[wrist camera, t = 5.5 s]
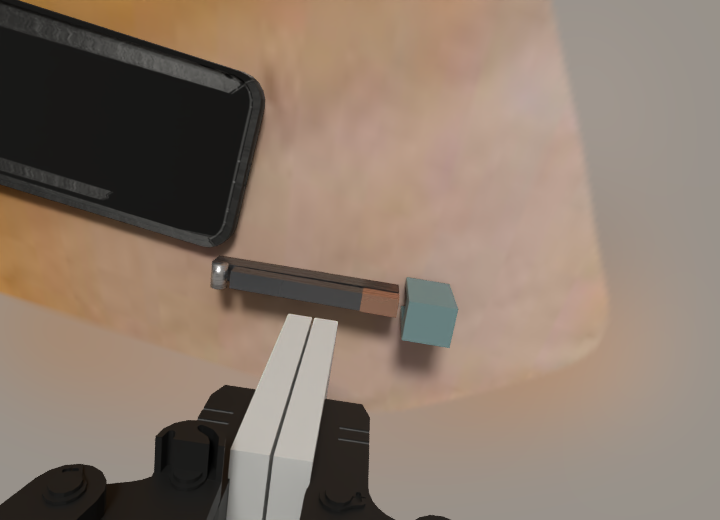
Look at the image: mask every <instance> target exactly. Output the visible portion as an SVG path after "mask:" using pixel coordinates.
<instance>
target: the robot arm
mask: <svg viewBox="0 0 720 520" xmlns="http://www.w3.org/2000/svg"><path fill="white" fill-rule="evenodd" d="M311 322H312V317H307V316H301V315H294V314H288V316H287V318H286V320H285V323H284V325H283V327H282V330H281V332H280V334H279V337H278V339H277V342H276V344H275V346H274V349H273V351H272V353H271V356H270V358H269V360H268V363H267V365H266V367H265V370H264V372H263V374H262V377H261V379H260V381H259V384H258V386H257V388H256V390H255V389H249V388H242V387H236V386H229V385H225V386H223V387H222V388H220V389H219V390H217V391H216V392H214V393H213V394H212V395H211V396H210V398H209V399H208V401H207V403H206V405H205V406H204V409H203V410H202V411H201V413H200V415H199V417H198V420H196V421H195V420H187V421H182V422H178V423H174V424H172V425H170V426H168V427H166V428H164V429H163V430H162V431H161V432H160V433H159V434H158V435H156V439H155V465H154V466H155V467H154V473H153V475H152V477H149V478H146V479H143V480H138V481H132V482H124V483H114V484H106V479H105V477H104V475H103V472H101V471H100V470H98V469H97V468H95V467H93V466H89V465H83V464H74V465H64V466H61V467H58V468H55V469H51V470H49V471H47V472H45V473H44V474H42V475H40V476H38V477H37V478H35V479H34V480H32V481H31V482H30V483H29V484H27V485H26V486H25V487H23V488H22V489H21V490H19V491H18V492H17V493H15V494H14V495H13V496H11V497H10V498H9V499H7V500H6V501H5V502H4V503H2V504H1V505H0V520H395V519H393V518H391V517H389V516H387V515H386V514H385V513H383V512H382V511H381V510H380V509H378V507H377V506H376V505H375V504H374V502H373V501H372V499H371V497H370V495H369V489H368V469H369V430H370V417H369V415H368V413H367V412H366V410H365V408H364V407H363V405H362V404H356V403H349V402H343V401H336V400H330V399H326V398H327V391H328V385H329V378H330V372H331V365H332V359H333V352H334V346H335V339H336V333H337V326H338V321H333V320H326V319H320V318H314V321H313V324H312V328H311ZM310 330H311V331H310ZM416 520H450V519H448V518H445V517H442V516H434V515H428V516H424V517H419V518H418V519H416Z"/></svg>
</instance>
